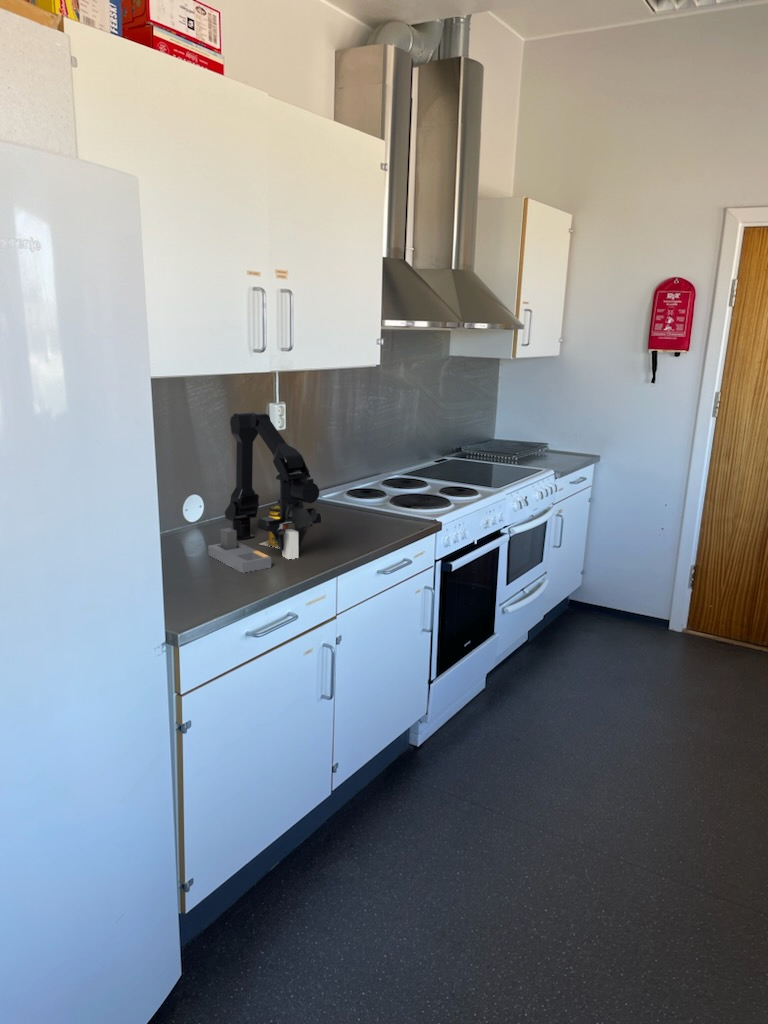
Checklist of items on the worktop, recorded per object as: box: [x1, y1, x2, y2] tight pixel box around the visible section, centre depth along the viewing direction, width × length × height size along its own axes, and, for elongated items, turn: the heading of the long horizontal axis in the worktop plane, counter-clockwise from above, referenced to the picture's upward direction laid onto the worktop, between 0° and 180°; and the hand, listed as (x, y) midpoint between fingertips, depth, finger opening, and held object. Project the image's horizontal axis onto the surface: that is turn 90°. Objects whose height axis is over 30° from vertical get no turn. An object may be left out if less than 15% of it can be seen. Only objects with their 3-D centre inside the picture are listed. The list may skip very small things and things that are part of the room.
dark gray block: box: [219, 527, 238, 550], centre depth 215 cm, size 4×3×8 cm
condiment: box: [259, 504, 289, 550], centre depth 228 cm, size 7×8×12 cm
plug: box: [281, 528, 299, 560], centre depth 216 cm, size 4×3×8 cm
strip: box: [207, 540, 272, 574], centre depth 211 cm, size 20×9×3 cm, turn 40°
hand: (290, 548), depth 216 cm, fingers open, 5 cm apart
